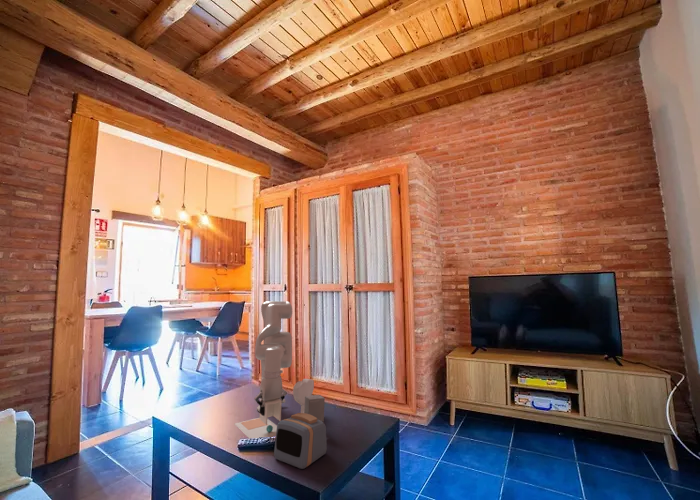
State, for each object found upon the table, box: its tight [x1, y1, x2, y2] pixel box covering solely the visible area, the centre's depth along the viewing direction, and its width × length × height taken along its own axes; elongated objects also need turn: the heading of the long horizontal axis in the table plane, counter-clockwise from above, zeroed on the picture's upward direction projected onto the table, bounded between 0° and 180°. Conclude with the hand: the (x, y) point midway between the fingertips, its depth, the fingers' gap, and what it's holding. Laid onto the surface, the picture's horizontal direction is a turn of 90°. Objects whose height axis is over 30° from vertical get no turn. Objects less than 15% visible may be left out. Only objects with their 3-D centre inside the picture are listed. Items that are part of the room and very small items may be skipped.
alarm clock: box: [273, 412, 328, 470], centre depth 133 cm, size 16×16×16 cm
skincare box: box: [304, 394, 325, 424], centre depth 157 cm, size 8×7×16 cm
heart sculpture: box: [292, 378, 315, 413], centre depth 176 cm, size 16×5×18 cm, turn 156°
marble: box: [266, 425, 273, 432], centre depth 153 cm, size 3×3×3 cm
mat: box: [234, 417, 277, 440], centre depth 156 cm, size 16×26×1 cm, turn 39°
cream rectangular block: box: [258, 398, 283, 425], centre depth 154 cm, size 7×7×9 cm
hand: (270, 412), depth 154 cm, fingers closed on cream rectangular block, 7 cm apart
